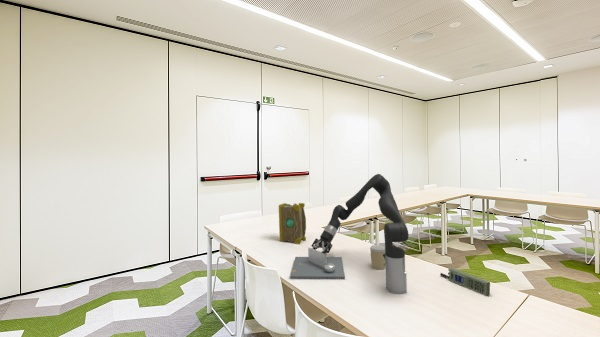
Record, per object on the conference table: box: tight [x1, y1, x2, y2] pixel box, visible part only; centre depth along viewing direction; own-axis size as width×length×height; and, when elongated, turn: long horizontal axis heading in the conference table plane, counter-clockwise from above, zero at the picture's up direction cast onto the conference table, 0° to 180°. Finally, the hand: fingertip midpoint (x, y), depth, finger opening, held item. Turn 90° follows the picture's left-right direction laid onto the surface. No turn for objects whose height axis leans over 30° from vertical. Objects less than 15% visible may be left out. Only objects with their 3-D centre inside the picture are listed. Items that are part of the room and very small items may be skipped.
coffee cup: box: [369, 244, 386, 271], centre depth 168 cm, size 9×9×12 cm
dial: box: [307, 247, 335, 272], centre depth 167 cm, size 22×6×8 cm, turn 36°
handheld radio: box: [440, 267, 491, 297], centre depth 142 cm, size 7×3×25 cm
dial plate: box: [289, 256, 346, 280], centre depth 169 cm, size 30×30×2 cm
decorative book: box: [278, 202, 307, 245], centre depth 224 cm, size 20×11×30 cm, turn 63°
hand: (315, 255), depth 172 cm, fingers open, 8 cm apart
